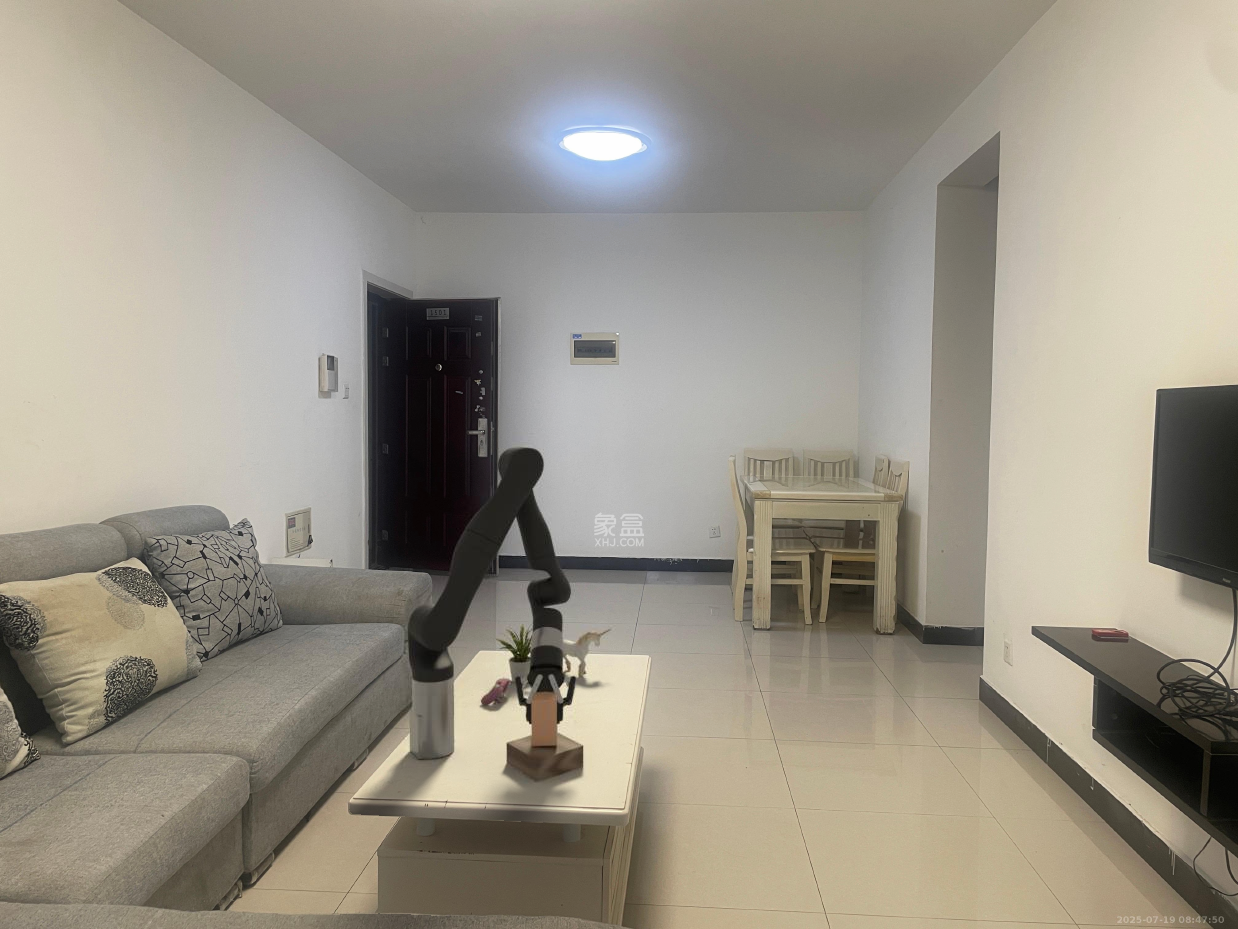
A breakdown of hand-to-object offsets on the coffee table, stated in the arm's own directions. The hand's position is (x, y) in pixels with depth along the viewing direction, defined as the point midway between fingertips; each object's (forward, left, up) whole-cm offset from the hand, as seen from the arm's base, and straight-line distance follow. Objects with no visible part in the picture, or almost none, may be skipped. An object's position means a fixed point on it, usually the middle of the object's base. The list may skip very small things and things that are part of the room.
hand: (544, 722), depth 171 cm
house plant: (+23, +57, -10) cm, 63 cm away
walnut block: (+1, +1, -10) cm, 11 cm away
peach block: (+1, +2, -5) cm, 5 cm away
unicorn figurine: (+41, +55, -10) cm, 70 cm away
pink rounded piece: (+9, +45, -10) cm, 47 cm away
